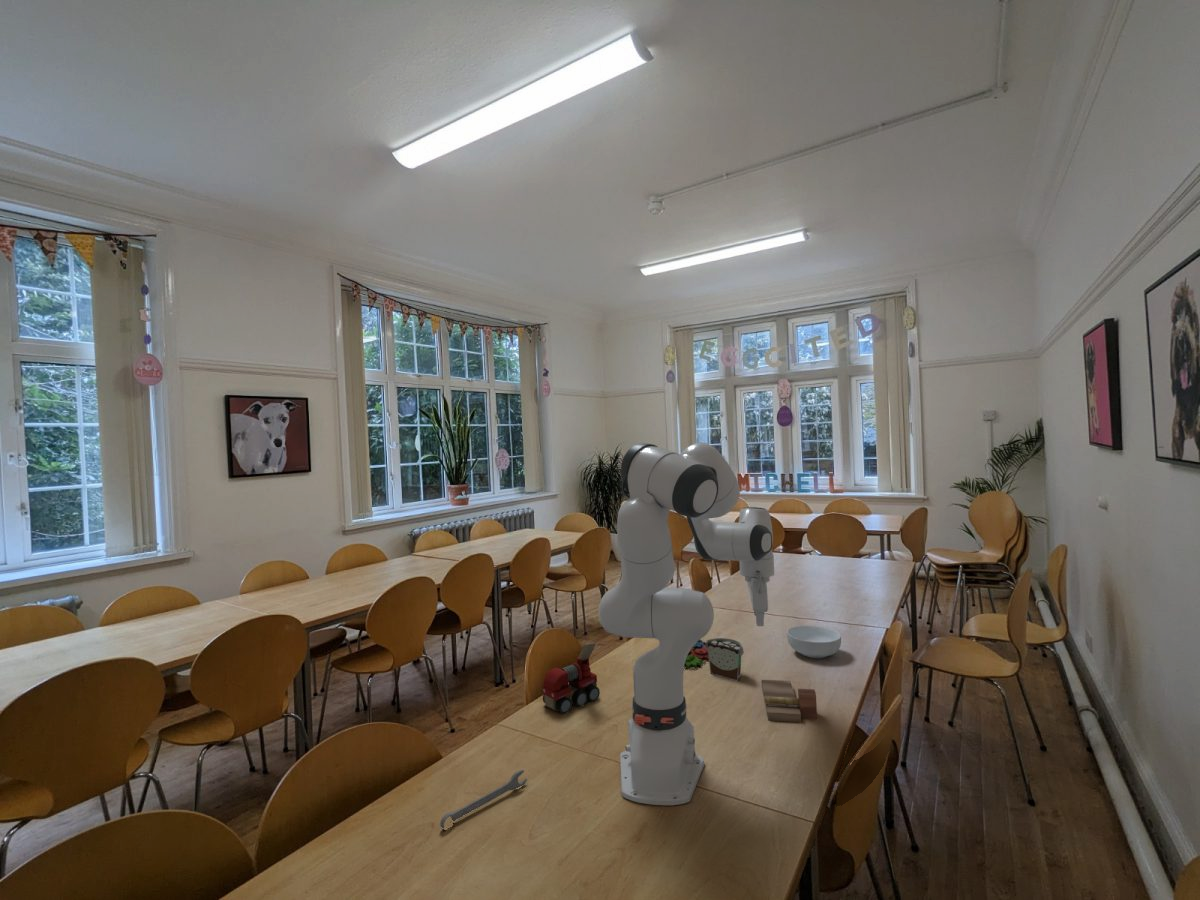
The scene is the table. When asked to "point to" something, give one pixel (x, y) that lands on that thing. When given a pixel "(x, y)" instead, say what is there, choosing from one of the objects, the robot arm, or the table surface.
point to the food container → (725, 657)
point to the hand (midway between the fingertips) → (758, 620)
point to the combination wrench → (486, 798)
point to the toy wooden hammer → (799, 702)
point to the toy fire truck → (571, 684)
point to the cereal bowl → (814, 640)
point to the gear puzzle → (696, 656)
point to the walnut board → (780, 710)
